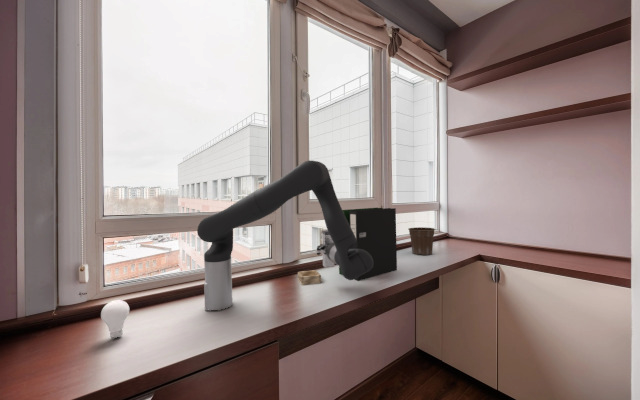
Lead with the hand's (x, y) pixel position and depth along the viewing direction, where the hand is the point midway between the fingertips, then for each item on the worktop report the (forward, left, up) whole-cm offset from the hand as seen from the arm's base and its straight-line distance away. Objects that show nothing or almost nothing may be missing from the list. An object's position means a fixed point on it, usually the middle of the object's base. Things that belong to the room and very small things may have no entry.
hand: (326, 246), depth 119 cm
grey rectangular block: (0, -3, -8) cm, 8 cm away
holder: (-6, +10, -18) cm, 21 cm away
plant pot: (+76, +40, -18) cm, 88 cm away
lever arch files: (+26, +13, -18) cm, 35 cm away
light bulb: (-71, -22, -18) cm, 76 cm away
